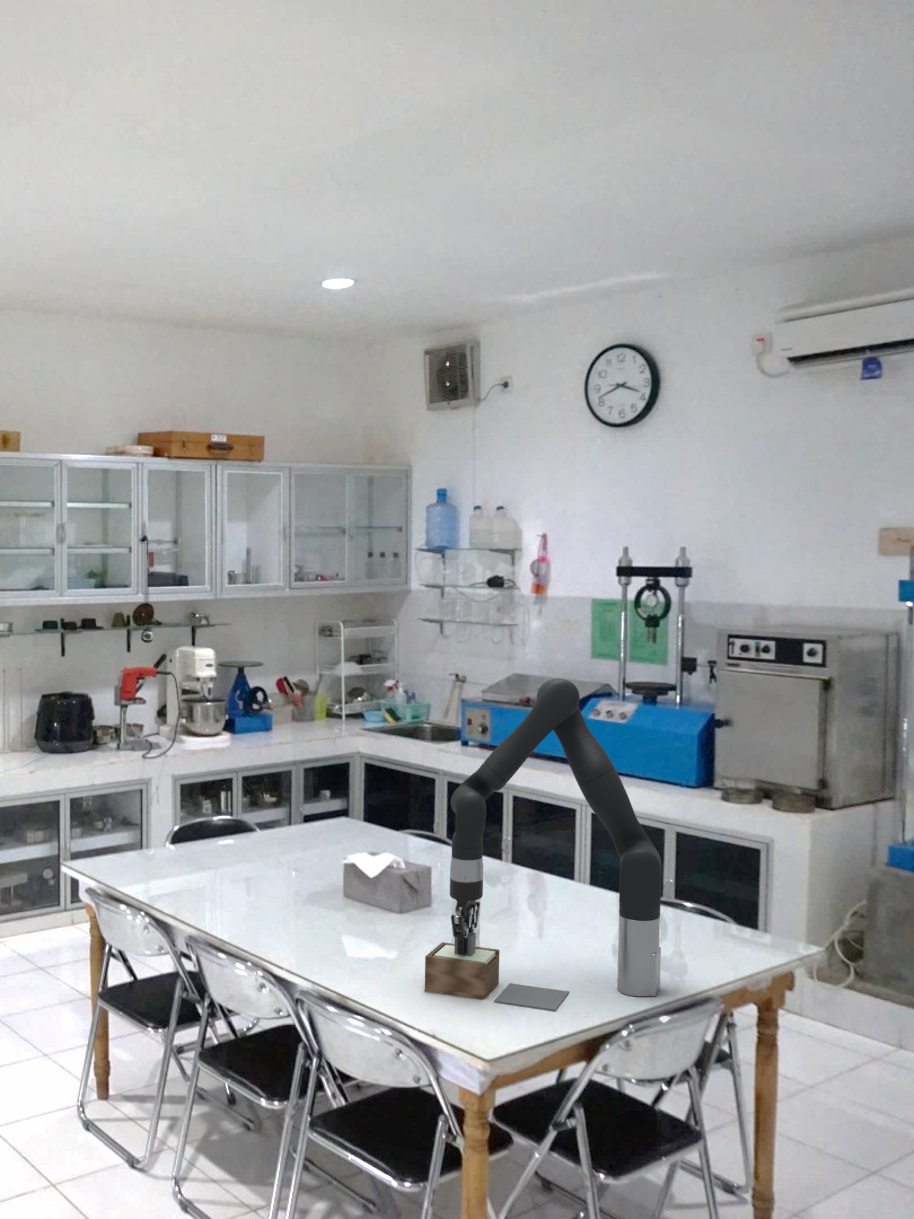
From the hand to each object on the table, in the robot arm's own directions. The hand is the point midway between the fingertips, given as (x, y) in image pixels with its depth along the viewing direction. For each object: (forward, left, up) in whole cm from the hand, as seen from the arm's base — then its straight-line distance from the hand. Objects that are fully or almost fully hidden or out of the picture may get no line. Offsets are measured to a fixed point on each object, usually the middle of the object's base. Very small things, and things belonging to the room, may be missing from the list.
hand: (464, 951), depth 277 cm
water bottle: (+8, -24, -9) cm, 27 cm away
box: (0, 0, -8) cm, 8 cm away
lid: (0, 0, -1) cm, 1 cm away
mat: (-16, 0, -8) cm, 18 cm away
